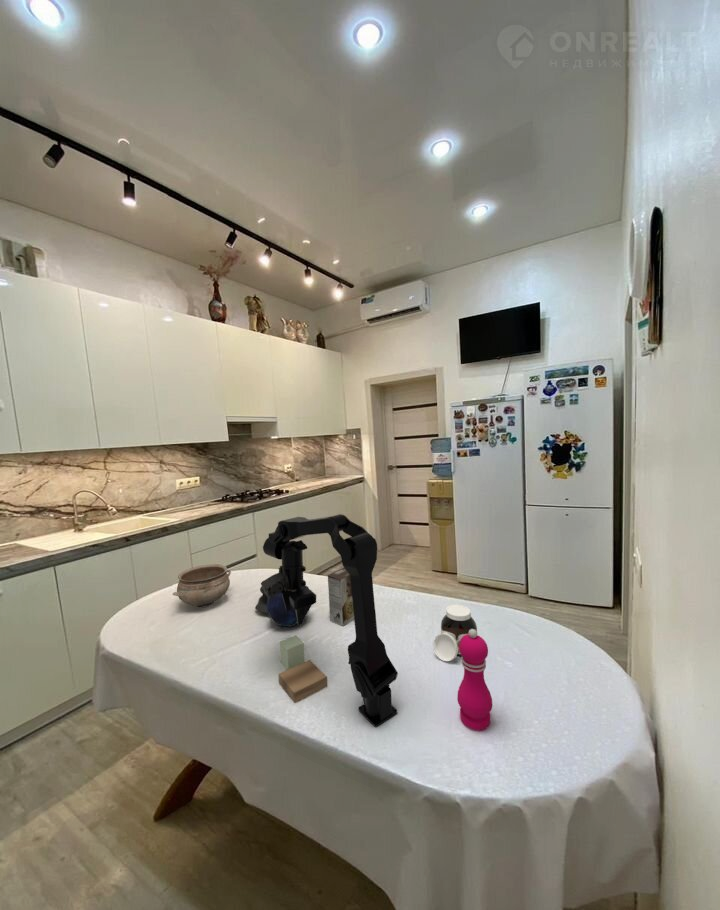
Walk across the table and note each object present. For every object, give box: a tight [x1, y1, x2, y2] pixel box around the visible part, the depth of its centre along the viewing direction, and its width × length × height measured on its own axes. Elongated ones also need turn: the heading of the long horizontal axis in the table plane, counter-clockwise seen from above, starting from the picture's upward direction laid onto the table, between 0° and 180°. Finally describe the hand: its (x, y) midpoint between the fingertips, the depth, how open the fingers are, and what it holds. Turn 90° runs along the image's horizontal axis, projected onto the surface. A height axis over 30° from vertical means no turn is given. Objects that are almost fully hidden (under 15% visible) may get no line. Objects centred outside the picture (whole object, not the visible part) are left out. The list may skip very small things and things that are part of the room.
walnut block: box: [278, 659, 328, 704], centre depth 91 cm, size 9×9×3 cm
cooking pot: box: [172, 563, 232, 608], centre depth 140 cm, size 25×19×12 cm
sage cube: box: [279, 635, 306, 670], centre depth 100 cm, size 5×5×6 cm
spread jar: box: [432, 604, 478, 662], centre depth 101 cm, size 12×11×12 cm
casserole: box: [254, 585, 309, 614], centre depth 138 cm, size 25×19×8 cm
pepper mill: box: [456, 629, 493, 732], centre depth 77 cm, size 7×7×20 cm
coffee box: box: [327, 567, 354, 627], centre depth 124 cm, size 9×6×16 cm
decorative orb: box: [267, 585, 310, 627], centre depth 122 cm, size 14×15×15 cm
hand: (294, 617), depth 101 cm, fingers open, 9 cm apart
